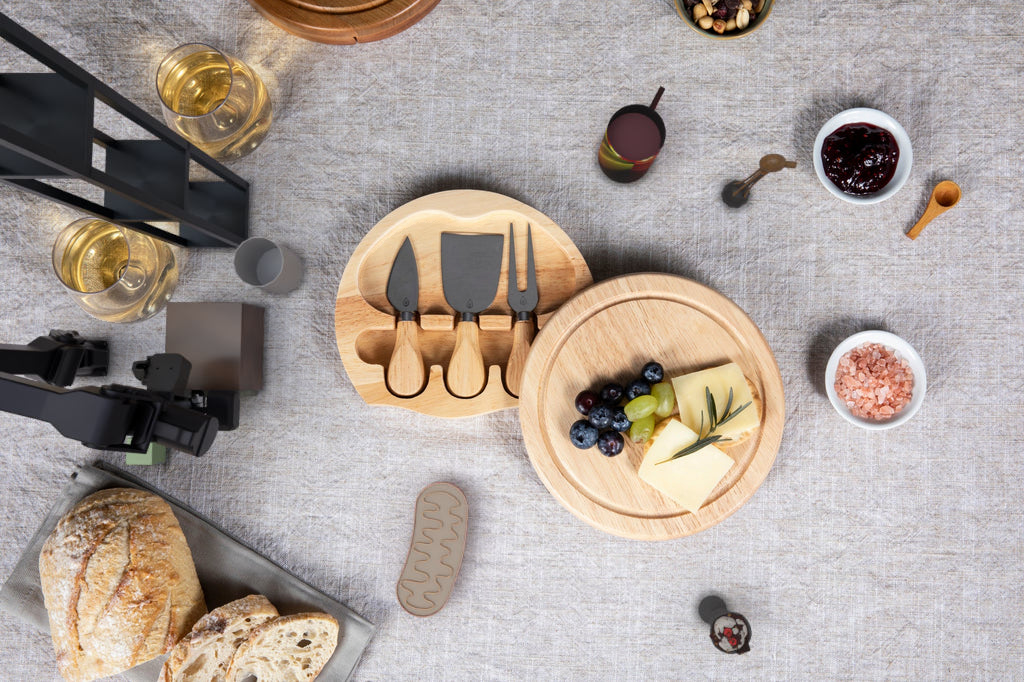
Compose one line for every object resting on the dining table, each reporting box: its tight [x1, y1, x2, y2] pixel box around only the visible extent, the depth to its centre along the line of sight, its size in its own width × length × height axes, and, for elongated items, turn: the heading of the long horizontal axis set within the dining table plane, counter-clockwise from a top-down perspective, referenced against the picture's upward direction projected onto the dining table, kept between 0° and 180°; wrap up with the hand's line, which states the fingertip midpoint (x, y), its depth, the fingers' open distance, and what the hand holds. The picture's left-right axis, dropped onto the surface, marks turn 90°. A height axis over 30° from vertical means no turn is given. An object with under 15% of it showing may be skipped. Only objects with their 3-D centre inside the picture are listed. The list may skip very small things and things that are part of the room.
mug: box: [597, 85, 667, 184], centre depth 114 cm, size 10×14×12 cm
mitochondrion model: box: [395, 481, 469, 619], centre depth 114 cm, size 23×10×5 cm, turn 167°
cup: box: [232, 236, 305, 295], centre depth 115 cm, size 8×8×10 cm
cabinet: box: [164, 301, 265, 391], centre depth 114 cm, size 15×13×10 cm
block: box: [125, 437, 167, 466], centre depth 116 cm, size 4×4×4 cm
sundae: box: [698, 595, 753, 656], centre depth 108 cm, size 7×7×15 cm
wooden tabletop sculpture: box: [720, 153, 798, 209], centre depth 109 cm, size 6×5×20 cm
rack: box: [0, 11, 250, 250], centre depth 87 cm, size 12×12×66 cm
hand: (202, 406), depth 110 cm, fingers closed
